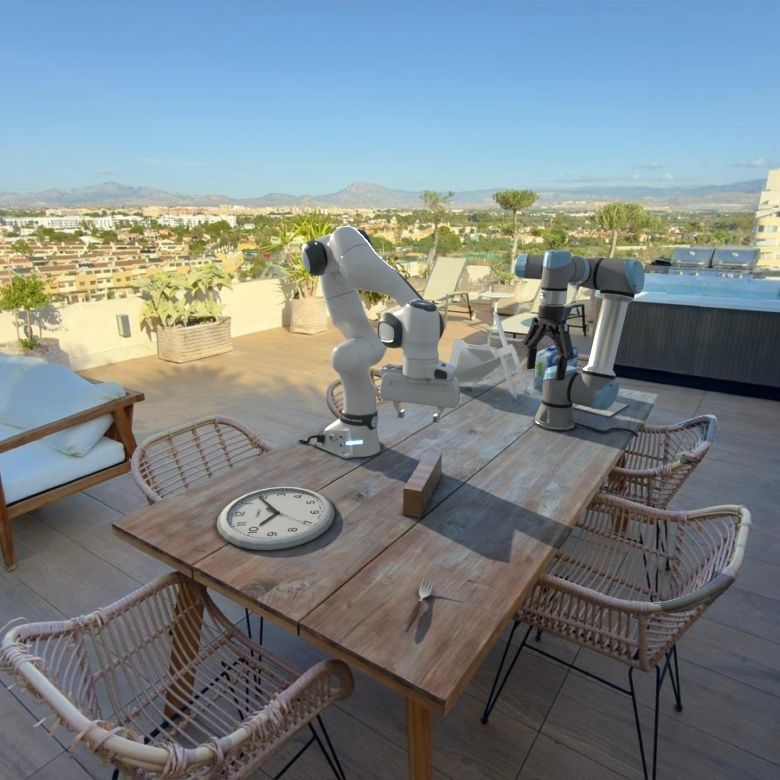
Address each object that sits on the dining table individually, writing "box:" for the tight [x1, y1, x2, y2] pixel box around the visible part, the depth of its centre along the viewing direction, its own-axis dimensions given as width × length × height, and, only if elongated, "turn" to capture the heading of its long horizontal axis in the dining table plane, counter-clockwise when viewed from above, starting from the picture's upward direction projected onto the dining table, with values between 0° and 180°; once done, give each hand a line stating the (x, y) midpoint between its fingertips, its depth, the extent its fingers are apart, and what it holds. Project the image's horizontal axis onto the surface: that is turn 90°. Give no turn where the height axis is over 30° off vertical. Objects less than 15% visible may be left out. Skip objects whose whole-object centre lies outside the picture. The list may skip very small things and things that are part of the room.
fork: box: [405, 574, 436, 633], centre depth 105 cm, size 3×16×2 cm, turn 160°
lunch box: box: [533, 345, 579, 392], centre depth 247 cm, size 26×11×21 cm, turn 134°
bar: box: [402, 450, 443, 519], centre depth 148 cm, size 25×5×8 cm, turn 162°
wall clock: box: [216, 486, 336, 551], centre depth 136 cm, size 30×2×30 cm
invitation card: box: [573, 401, 629, 418], centre depth 226 cm, size 21×1×15 cm
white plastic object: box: [448, 310, 531, 400], centre depth 245 cm, size 37×45×31 cm
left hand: (418, 419), depth 134 cm, fingers open, 8 cm apart
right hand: (544, 374), depth 160 cm, fingers open, 13 cm apart
